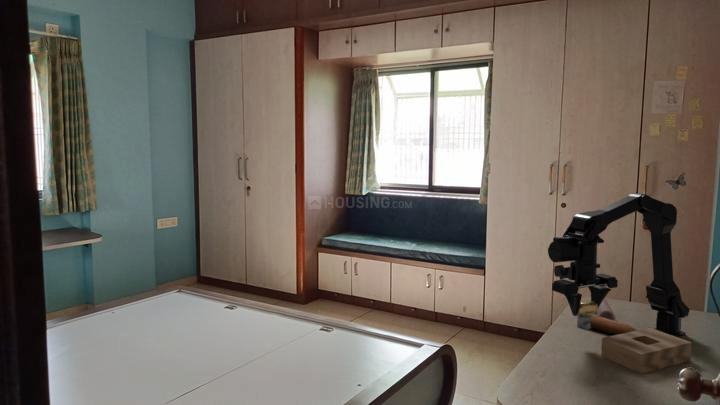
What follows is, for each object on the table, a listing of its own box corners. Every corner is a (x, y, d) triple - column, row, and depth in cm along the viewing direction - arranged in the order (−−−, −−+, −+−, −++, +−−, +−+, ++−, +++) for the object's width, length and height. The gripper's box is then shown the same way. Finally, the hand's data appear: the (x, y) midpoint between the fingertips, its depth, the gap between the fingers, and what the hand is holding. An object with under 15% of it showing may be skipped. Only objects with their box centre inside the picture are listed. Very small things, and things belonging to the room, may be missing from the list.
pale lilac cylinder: (616, 312, 159) (607, 295, 176) (600, 309, 160) (592, 293, 177) (614, 326, 159) (605, 308, 176) (598, 323, 161) (590, 306, 178)
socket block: (649, 344, 143) (649, 327, 142) (690, 360, 132) (691, 342, 131) (601, 355, 136) (601, 338, 136) (640, 373, 125) (641, 354, 125)
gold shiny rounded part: (583, 321, 147) (584, 298, 146) (602, 329, 141) (602, 304, 140) (566, 325, 144) (566, 301, 144) (584, 332, 138) (584, 308, 138)
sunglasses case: (650, 335, 149) (645, 319, 147) (640, 352, 146) (634, 336, 144) (592, 320, 164) (586, 305, 161) (581, 335, 161) (575, 320, 158)
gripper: (588, 251, 151) (587, 301, 153) (538, 257, 145) (537, 310, 146) (619, 258, 141) (618, 312, 143) (567, 265, 134) (566, 322, 136)
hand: (584, 313), depth 142 cm, fingers closed on gold shiny rounded part, 7 cm apart
